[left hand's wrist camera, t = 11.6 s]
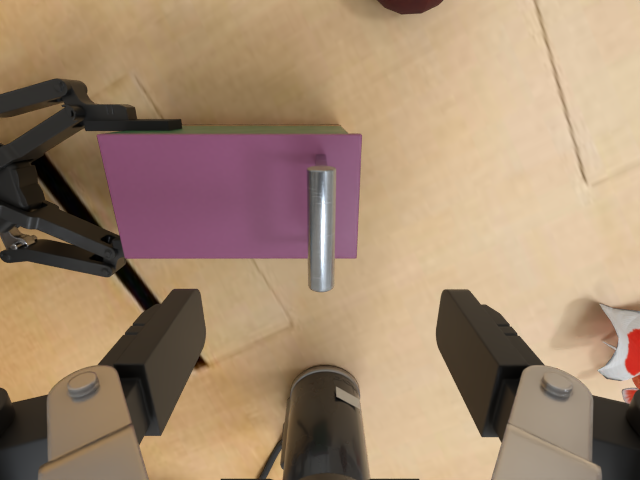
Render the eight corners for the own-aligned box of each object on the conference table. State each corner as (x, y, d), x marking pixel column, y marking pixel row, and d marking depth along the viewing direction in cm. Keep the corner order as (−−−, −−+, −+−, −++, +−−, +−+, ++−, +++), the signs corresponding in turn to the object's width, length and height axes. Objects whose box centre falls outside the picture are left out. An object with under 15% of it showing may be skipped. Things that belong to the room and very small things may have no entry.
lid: (360, 133, 24) (379, 146, 16) (355, 254, 27) (369, 309, 20) (103, 133, 24) (6, 146, 16) (130, 254, 27) (59, 310, 20)
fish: (596, 430, 43) (691, 469, 33) (540, 314, 45) (615, 319, 35) (657, 391, 45) (763, 417, 36) (601, 282, 47) (688, 278, 37)
